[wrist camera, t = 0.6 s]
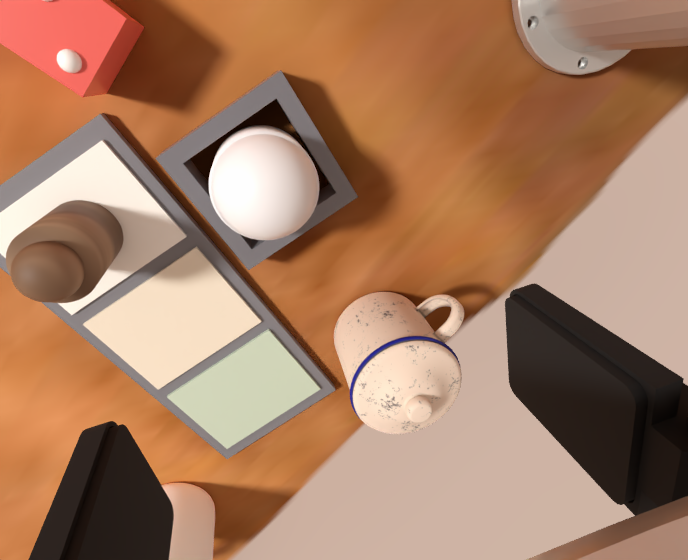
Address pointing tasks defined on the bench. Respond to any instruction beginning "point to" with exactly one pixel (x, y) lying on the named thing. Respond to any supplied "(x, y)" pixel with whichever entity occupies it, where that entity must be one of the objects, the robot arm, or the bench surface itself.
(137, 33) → the red die
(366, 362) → the teacup with lid
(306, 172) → the dome
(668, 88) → the bench surface
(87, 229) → the pawn
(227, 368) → the game board
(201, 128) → the dome housing
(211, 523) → the cup
